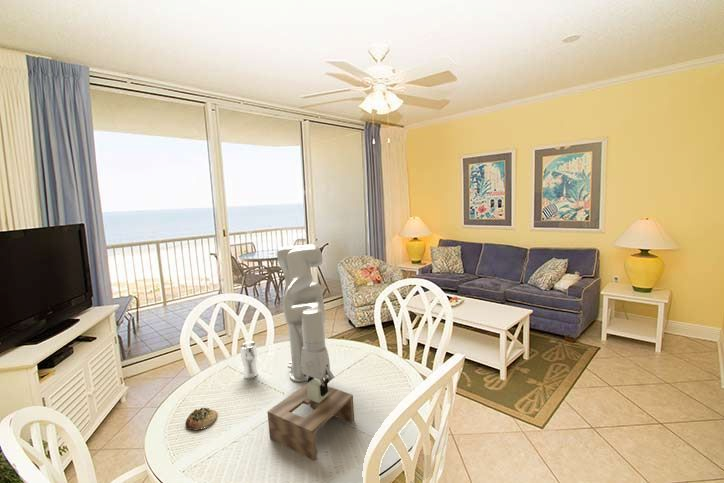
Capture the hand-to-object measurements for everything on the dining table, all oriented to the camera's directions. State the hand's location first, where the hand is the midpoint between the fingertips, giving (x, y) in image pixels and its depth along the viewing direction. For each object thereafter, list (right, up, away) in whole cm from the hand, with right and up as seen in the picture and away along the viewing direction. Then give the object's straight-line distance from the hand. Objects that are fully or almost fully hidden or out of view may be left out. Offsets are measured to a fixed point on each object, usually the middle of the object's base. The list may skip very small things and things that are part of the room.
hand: (317, 391), depth 122 cm
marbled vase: (-36, -9, +38) cm, 53 cm away
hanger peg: (0, -9, +1) cm, 9 cm away
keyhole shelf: (-1, -13, -1) cm, 13 cm away
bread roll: (-44, -14, +6) cm, 47 cm away
